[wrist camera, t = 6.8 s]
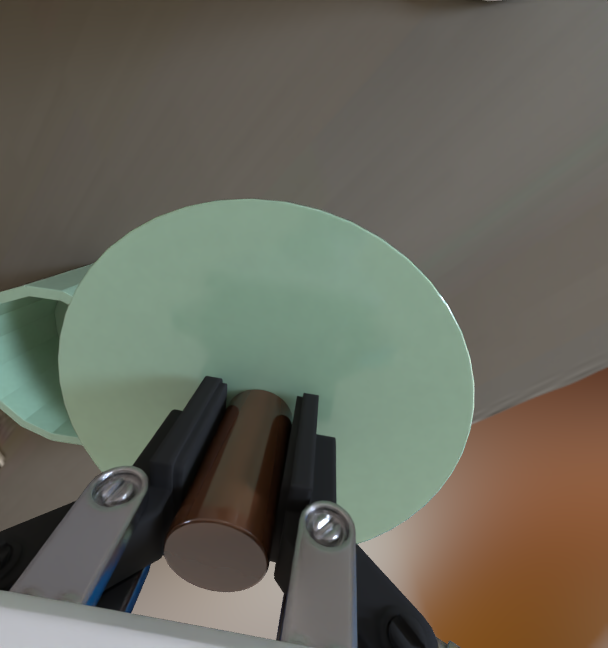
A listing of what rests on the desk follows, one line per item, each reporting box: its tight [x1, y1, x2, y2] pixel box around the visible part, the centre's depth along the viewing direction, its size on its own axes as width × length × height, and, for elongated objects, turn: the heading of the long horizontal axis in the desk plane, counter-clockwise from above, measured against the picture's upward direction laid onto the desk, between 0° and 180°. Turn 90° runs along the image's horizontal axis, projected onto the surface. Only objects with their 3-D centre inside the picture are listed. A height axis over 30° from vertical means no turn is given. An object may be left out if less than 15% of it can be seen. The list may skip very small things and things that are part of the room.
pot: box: [0, 263, 94, 445], centre depth 30 cm, size 14×19×8 cm
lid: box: [58, 198, 474, 592], centre depth 10 cm, size 15×15×6 cm
